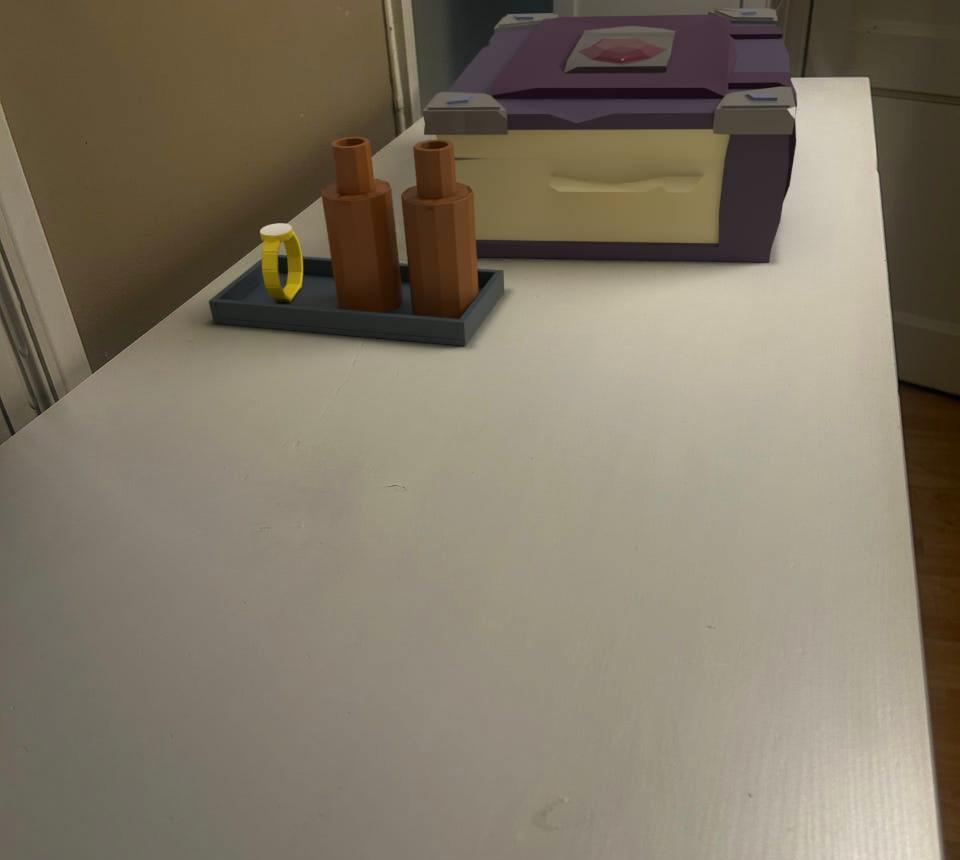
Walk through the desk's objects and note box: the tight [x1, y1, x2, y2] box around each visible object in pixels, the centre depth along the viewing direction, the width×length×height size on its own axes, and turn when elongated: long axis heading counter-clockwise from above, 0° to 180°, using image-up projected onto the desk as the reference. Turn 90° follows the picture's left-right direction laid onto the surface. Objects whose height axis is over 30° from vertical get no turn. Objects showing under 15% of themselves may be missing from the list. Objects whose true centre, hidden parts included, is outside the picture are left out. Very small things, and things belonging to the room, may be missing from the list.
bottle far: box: [400, 139, 479, 319], centre depth 80 cm, size 6×6×14 cm
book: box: [422, 7, 798, 263], centre depth 103 cm, size 33×45×14 cm
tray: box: [208, 254, 505, 347], centre depth 86 cm, size 23×11×2 cm, turn 72°
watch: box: [259, 222, 303, 302], centre depth 86 cm, size 6×3×6 cm, turn 168°
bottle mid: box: [320, 136, 403, 313], centre depth 81 cm, size 6×6×14 cm
